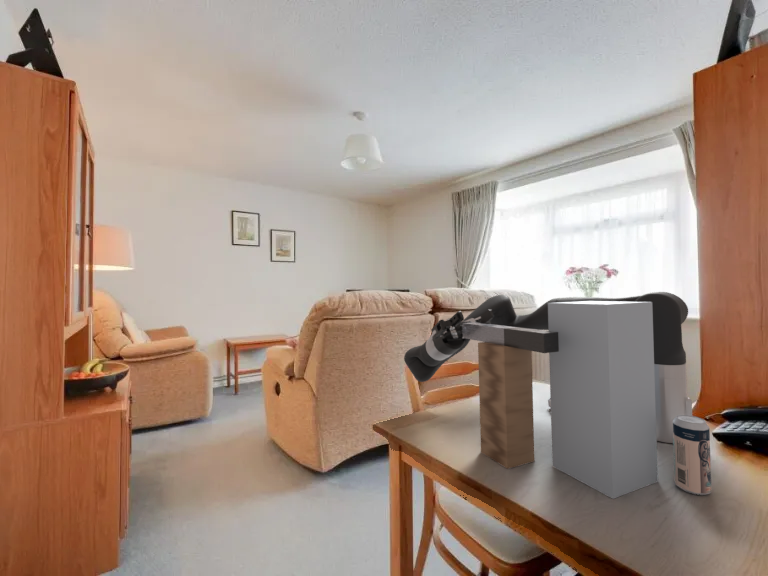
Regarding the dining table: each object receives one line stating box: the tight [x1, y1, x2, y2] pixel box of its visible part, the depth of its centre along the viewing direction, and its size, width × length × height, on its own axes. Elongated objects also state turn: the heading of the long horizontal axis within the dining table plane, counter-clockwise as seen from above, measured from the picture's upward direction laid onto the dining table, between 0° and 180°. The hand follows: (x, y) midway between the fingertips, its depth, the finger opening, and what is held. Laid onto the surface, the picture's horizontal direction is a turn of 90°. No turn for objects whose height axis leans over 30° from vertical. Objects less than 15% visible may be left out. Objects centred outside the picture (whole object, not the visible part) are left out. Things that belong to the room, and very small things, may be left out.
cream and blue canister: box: [672, 415, 712, 496], centre depth 61 cm, size 5×5×12 cm
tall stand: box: [548, 301, 659, 500], centre depth 66 cm, size 12×12×32 cm
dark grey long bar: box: [460, 322, 559, 354], centre depth 75 cm, size 26×4×4 cm, turn 23°
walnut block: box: [477, 341, 536, 470], centre depth 74 cm, size 8×7×24 cm
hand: (476, 313), depth 82 cm, fingers open, 8 cm apart
